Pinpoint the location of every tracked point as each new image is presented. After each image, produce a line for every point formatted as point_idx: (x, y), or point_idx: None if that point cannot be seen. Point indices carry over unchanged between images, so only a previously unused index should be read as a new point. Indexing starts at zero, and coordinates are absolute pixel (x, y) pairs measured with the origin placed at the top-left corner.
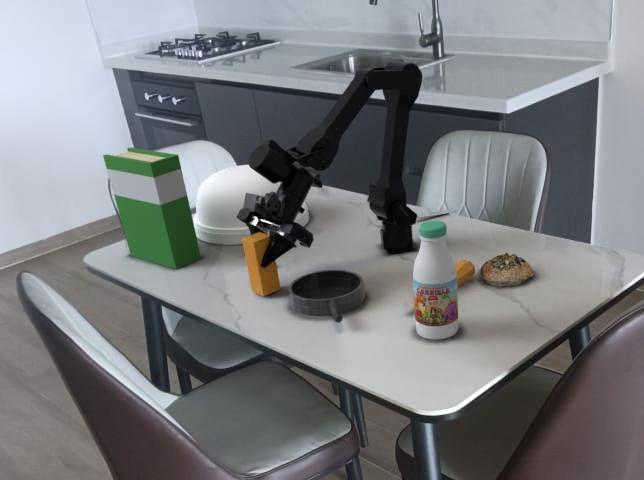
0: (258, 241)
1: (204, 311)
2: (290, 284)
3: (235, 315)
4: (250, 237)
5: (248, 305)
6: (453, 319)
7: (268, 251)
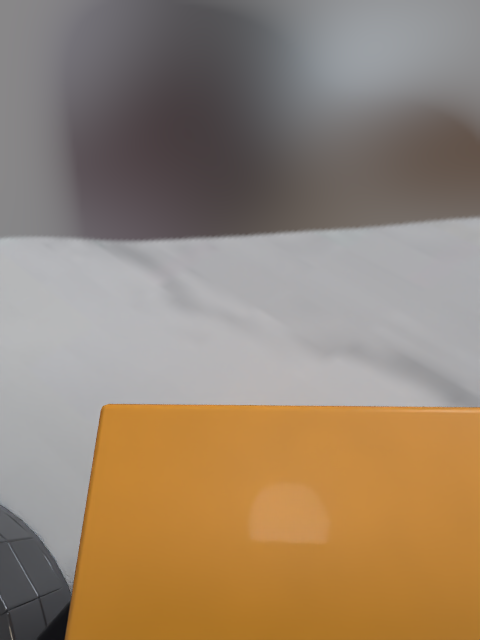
0: (84, 545)
1: (364, 242)
2: (2, 612)
3: (214, 298)
4: (460, 589)
5: (252, 395)
6: None
7: (47, 634)
